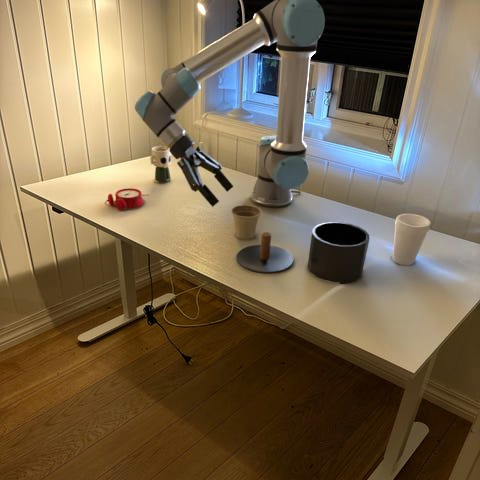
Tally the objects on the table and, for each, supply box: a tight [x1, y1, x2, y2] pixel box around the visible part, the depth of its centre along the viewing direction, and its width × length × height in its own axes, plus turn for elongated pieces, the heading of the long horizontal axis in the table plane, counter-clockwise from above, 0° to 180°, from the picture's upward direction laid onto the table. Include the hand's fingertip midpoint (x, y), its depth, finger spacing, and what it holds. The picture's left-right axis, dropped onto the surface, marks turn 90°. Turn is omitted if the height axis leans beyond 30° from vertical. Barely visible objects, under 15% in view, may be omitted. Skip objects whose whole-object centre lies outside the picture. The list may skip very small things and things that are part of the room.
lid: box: [235, 231, 294, 274], centre depth 140 cm, size 17×17×9 cm
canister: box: [306, 221, 370, 285], centre depth 137 cm, size 16×16×12 cm
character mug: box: [149, 145, 173, 184], centre depth 191 cm, size 11×7×13 cm, turn 139°
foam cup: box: [392, 213, 431, 266], centre depth 143 cm, size 10×9×13 cm
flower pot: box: [230, 204, 262, 240], centre depth 154 cm, size 9×9×9 cm
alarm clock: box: [104, 187, 149, 211], centre depth 172 cm, size 10×6×15 cm
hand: (223, 196), depth 151 cm, fingers open, 13 cm apart
